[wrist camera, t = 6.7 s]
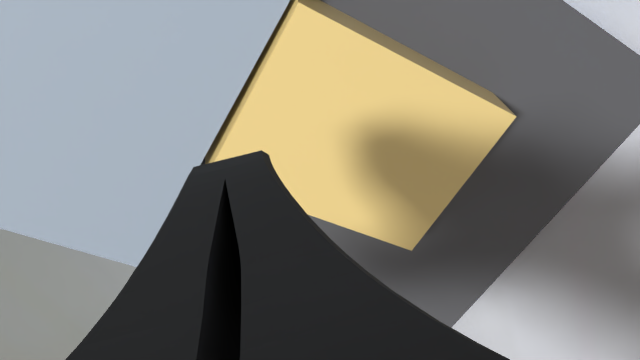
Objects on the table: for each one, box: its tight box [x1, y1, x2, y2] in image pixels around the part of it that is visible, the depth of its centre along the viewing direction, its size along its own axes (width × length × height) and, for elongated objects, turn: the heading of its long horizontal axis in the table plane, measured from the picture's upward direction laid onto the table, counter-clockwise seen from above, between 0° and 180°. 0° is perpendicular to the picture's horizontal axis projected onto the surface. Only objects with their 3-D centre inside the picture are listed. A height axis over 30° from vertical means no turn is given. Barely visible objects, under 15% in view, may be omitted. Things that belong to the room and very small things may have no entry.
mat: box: [201, 0, 640, 327], centre depth 21 cm, size 14×14×1 cm
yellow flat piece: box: [205, 0, 517, 251], centre depth 18 cm, size 8×6×2 cm
